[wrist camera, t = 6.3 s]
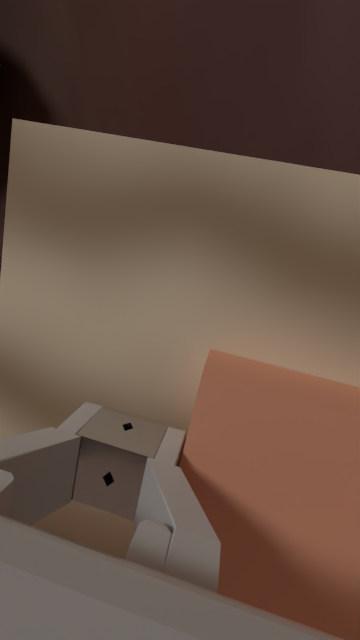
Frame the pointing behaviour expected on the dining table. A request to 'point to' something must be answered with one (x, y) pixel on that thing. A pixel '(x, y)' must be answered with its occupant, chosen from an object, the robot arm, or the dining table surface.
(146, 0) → the dining table surface
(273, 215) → the beige square slab
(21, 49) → the dining table surface
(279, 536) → the pink flat block
